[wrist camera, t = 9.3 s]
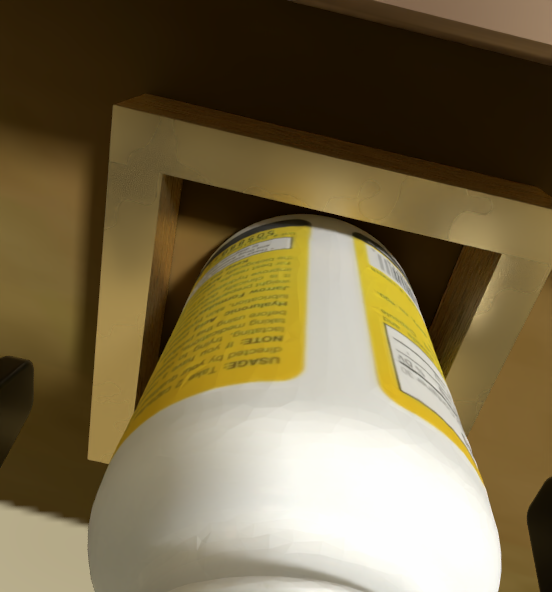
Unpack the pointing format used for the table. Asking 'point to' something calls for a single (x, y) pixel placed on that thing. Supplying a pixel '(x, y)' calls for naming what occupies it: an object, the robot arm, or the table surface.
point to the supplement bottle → (296, 435)
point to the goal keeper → (315, 195)
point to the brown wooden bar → (463, 22)
